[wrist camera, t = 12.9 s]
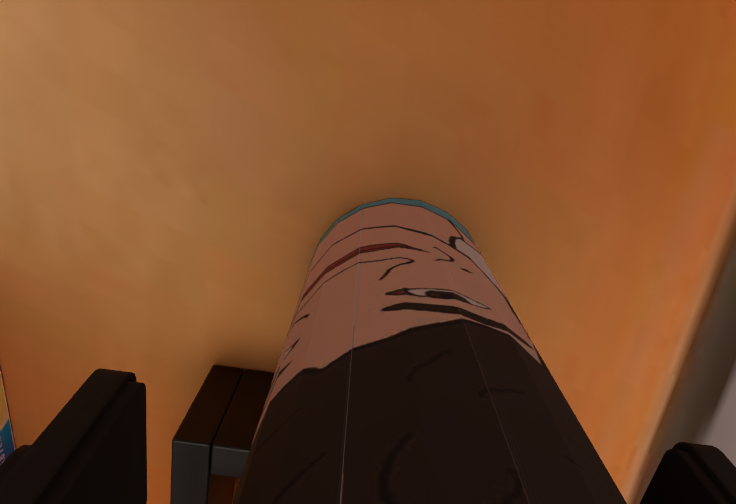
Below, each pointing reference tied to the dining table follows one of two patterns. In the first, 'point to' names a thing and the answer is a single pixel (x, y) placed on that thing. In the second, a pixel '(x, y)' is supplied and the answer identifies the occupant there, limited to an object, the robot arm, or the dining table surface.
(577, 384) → the dining table surface
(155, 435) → the dining table surface
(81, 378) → the dining table surface
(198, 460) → the cup stand
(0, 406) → the beverage box
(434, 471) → the cup
